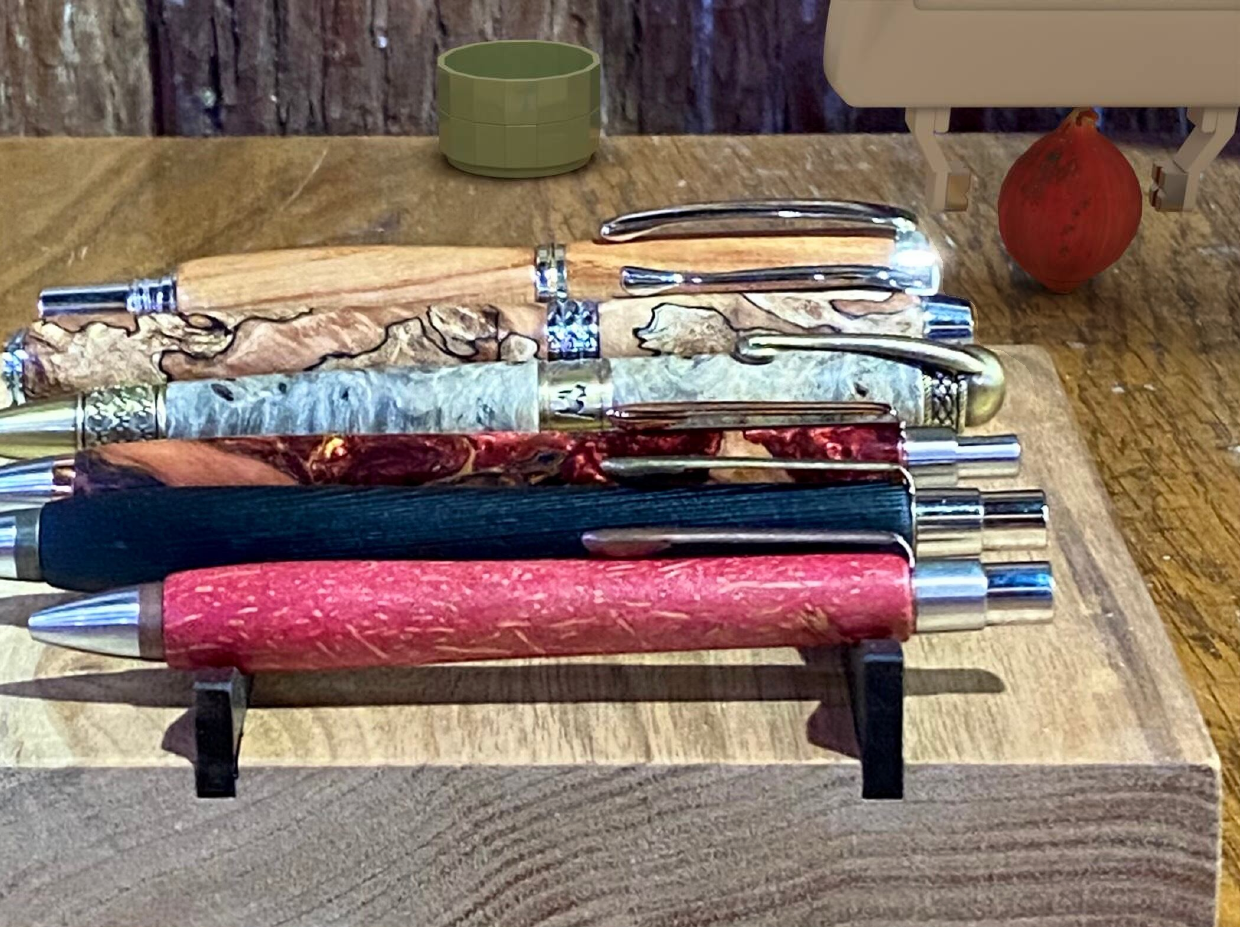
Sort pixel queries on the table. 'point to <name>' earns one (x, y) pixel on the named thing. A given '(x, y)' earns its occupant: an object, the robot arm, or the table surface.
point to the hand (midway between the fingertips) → (1057, 209)
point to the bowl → (519, 107)
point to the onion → (1069, 204)
